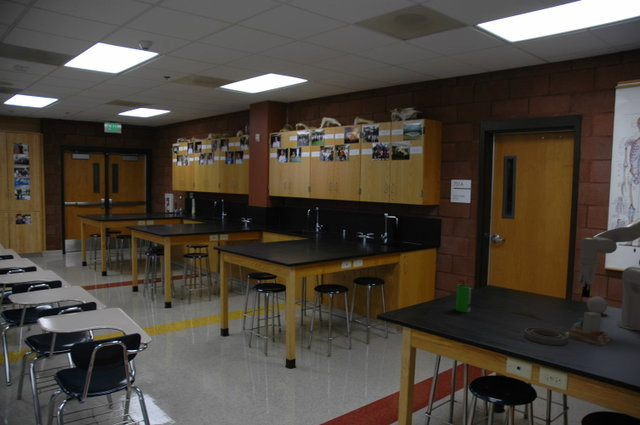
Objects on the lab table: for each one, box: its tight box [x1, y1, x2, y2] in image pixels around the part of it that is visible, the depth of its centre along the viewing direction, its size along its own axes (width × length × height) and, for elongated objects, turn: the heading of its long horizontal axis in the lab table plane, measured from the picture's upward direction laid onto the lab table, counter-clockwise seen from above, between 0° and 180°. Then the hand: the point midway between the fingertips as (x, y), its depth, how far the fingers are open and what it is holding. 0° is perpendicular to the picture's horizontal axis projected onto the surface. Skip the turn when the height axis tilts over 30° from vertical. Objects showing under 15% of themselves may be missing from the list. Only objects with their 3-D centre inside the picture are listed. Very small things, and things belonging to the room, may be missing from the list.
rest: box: [564, 326, 613, 347], centre depth 224 cm, size 14×18×4 cm
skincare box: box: [583, 311, 602, 336], centre depth 222 cm, size 6×4×12 cm
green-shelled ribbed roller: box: [455, 278, 472, 313], centre depth 267 cm, size 9×8×18 cm
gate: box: [571, 317, 584, 330], centre depth 235 cm, size 12×2×4 cm, turn 133°
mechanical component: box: [524, 326, 569, 346], centre depth 221 cm, size 18×18×3 cm
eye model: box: [586, 295, 608, 315], centre depth 269 cm, size 10×10×10 cm
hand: (585, 296), depth 241 cm, fingers closed
